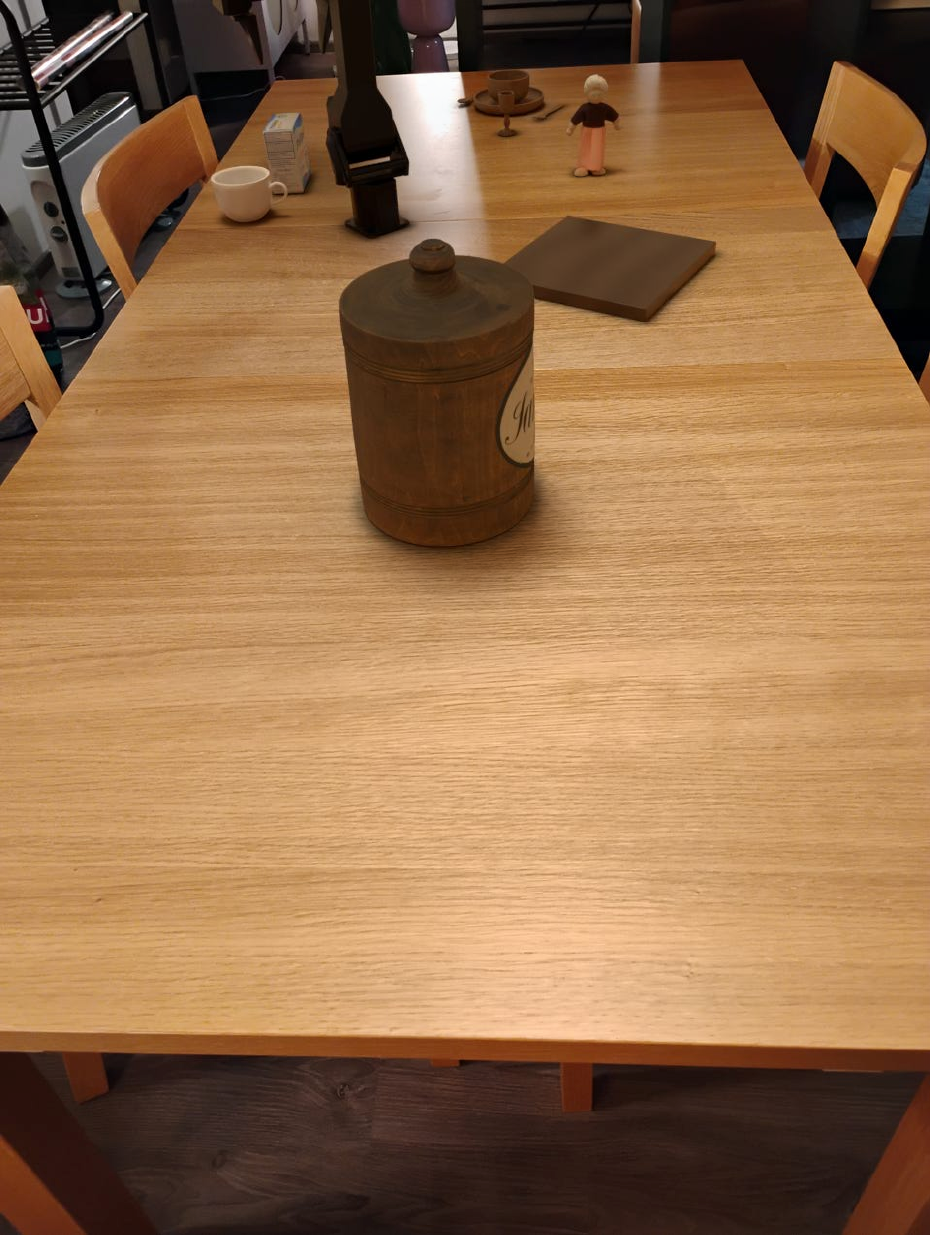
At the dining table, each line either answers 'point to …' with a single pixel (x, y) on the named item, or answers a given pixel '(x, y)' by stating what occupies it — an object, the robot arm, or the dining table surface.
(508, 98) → the place setting
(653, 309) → the stand board
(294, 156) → the medicine box
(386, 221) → the robot arm
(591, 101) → the grandmother figurine
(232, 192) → the teacup
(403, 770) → the dining table surface
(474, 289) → the wooden container
